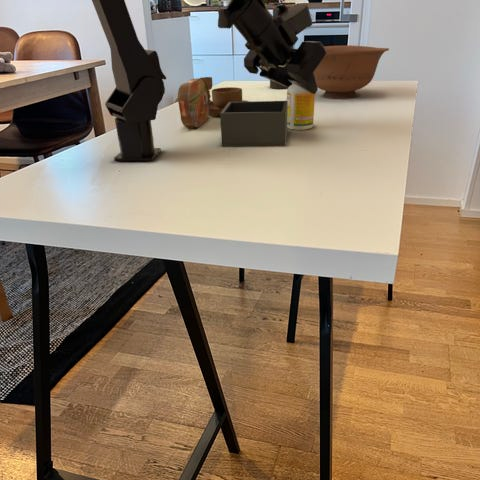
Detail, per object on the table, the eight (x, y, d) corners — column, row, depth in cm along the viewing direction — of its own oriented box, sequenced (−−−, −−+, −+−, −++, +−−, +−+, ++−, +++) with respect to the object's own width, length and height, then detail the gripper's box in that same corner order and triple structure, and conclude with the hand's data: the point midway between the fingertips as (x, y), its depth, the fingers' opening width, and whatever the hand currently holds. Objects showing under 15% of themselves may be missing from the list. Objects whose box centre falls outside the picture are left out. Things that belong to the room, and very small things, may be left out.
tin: (193, 131, 96) (189, 85, 91) (178, 131, 96) (173, 85, 92) (211, 116, 108) (209, 75, 103) (198, 116, 109) (195, 75, 104)
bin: (285, 145, 84) (285, 112, 81) (221, 146, 85) (220, 113, 82) (287, 131, 93) (287, 100, 90) (230, 132, 94) (228, 101, 91)
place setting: (184, 117, 108) (181, 89, 105) (202, 102, 124) (200, 77, 121) (261, 117, 105) (261, 87, 102) (269, 101, 122) (269, 75, 119)
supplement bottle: (280, 128, 96) (281, 74, 90) (297, 123, 99) (298, 71, 93) (302, 131, 92) (304, 76, 87) (318, 126, 96) (321, 72, 90)
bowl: (304, 104, 116) (305, 53, 110) (292, 91, 134) (293, 46, 128) (394, 100, 116) (401, 49, 110) (370, 87, 134) (375, 42, 128)
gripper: (320, -18, 74) (366, 57, 85) (255, -12, 88) (301, 52, 98) (278, 44, 75) (328, 110, 86) (220, 40, 89) (270, 98, 100)
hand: (306, 90), depth 93 cm, fingers closed on supplement bottle, 5 cm apart
